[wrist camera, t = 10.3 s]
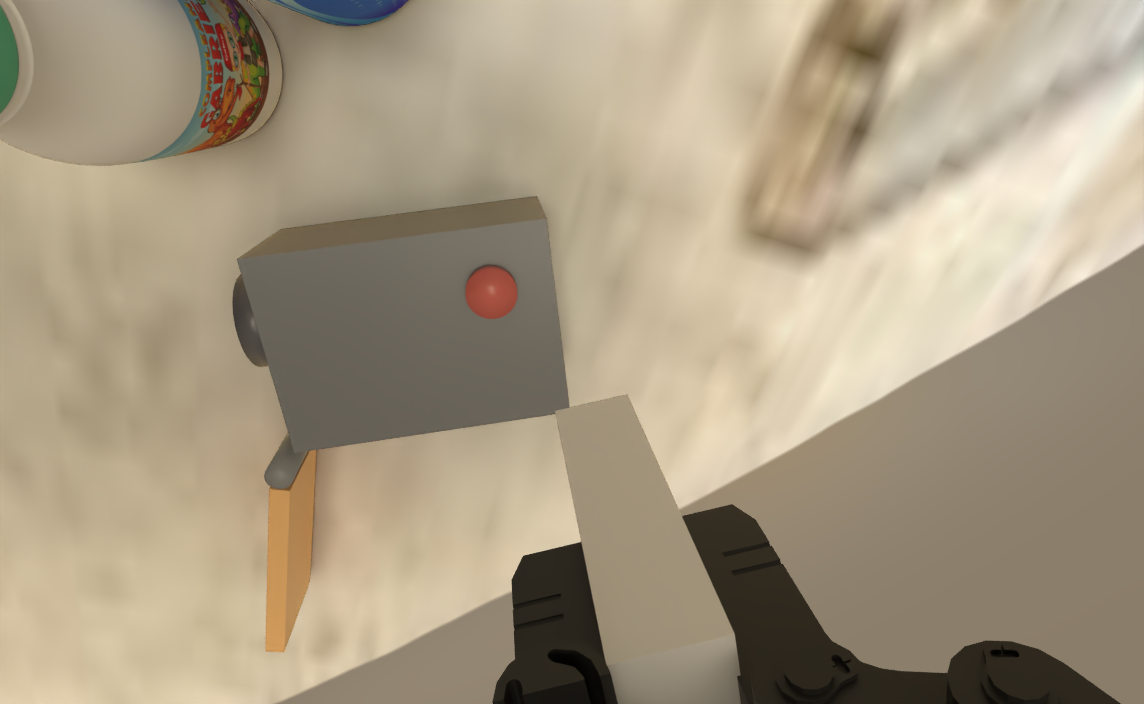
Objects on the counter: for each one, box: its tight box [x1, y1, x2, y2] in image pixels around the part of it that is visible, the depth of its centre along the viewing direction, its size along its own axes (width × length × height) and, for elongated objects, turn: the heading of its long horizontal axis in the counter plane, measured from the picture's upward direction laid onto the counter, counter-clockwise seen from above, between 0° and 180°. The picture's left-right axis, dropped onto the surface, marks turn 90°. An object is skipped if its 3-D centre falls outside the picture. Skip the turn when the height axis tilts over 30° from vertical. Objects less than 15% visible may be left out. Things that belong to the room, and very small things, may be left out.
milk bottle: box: [0, 0, 282, 166], centre depth 25 cm, size 8×8×20 cm
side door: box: [264, 433, 316, 652], centre depth 39 cm, size 12×2×6 cm, turn 170°
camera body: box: [233, 196, 570, 453], centre depth 36 cm, size 15×10×8 cm, turn 96°
